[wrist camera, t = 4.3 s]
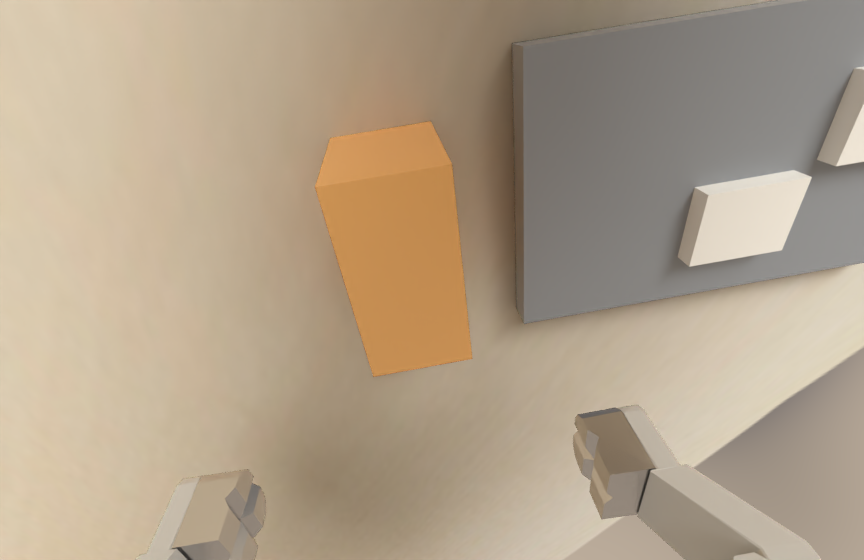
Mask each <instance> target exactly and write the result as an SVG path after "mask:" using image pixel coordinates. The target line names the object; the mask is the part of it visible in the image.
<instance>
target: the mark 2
mask: <svg viewBox="0 0 864 560" xmlns="http://www.w3.org/2000/svg"><path fill="white" fill-rule="evenodd" d="M817 160H819V161H822V162H825V163H828V164H831V165H833V166H841V165H847V164H853V163H859V162H864V67H858V68H854V70H853V72H852V75H851V77H850V80H849V82H848V85H847V87H846V90H845V92H844V94H843V97H842V99H841V102H840V104H839V107H838V109H837V112H836V114H835V116H834V119H833V121H832V124H831V126H830V129H829V131H828V133H827V136H826V138H825V141H824V143H823V146H822V148H821V151H820V153H819V155H818V158H817Z"/></svg>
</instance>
